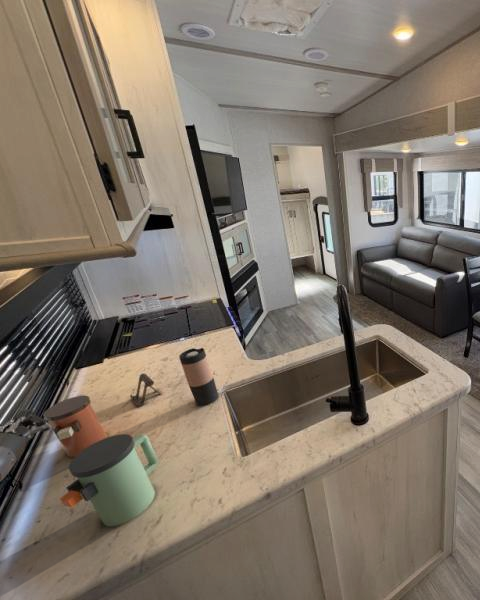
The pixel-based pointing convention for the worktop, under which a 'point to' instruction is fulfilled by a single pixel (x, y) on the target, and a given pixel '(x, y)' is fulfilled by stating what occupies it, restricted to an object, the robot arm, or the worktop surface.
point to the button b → (65, 433)
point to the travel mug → (199, 376)
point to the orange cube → (71, 498)
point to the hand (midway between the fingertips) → (27, 413)
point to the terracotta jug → (76, 423)
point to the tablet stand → (148, 383)
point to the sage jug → (115, 477)
